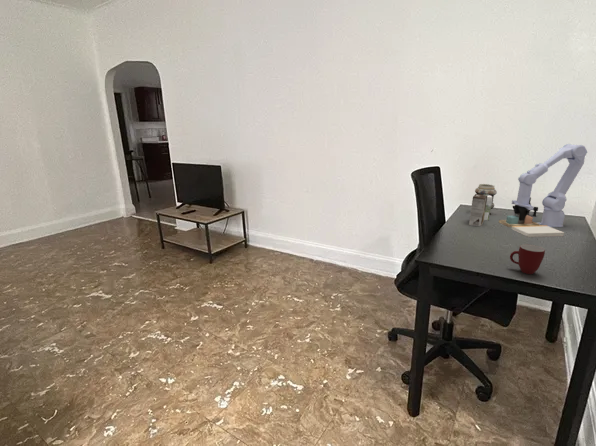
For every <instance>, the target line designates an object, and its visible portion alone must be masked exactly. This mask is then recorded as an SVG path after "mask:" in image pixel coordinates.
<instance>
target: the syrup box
mask: <svg viewBox="0 0 596 446" xmlns="http://www.w3.org/2000/svg"><path fill="white" fill-rule="evenodd" d="M492 198H493V199H494V197H492V196H490V195H488V196H487V203H486V209H485V216H484V221H489V219H490V216H491V215H490V213H491V210H492V209H491V204H492Z"/></svg>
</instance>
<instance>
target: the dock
mask: <svg viewBox="0 0 596 446" xmlns="http://www.w3.org/2000/svg"><path fill="white" fill-rule="evenodd" d="M511 230H513V231H515V232H517V233H519V234H520V235H523V236H525V237H526V238H537V237H538V238H549V237H550V238H551V237H553V238H555V237H564V235H565V232H564V231H561V230H558V229H556V228H555V227H549V226H547V225H540V224H539V226H512V227H511Z"/></svg>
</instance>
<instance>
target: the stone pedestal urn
mask: <svg viewBox="0 0 596 446" xmlns="http://www.w3.org/2000/svg"><path fill="white" fill-rule="evenodd" d="M474 192H475V193H474V194H481V195H490V196H492V197H493V198H492V204H491V209H490V210H492V209H494V208H495V203H494V197H495V195H496V194H497V190H496V189H495V185H493V184H488V183H479V184H478V186H477V187H476V188H475V190H474ZM491 215H492V214H491V212H490V215H489V216H491Z"/></svg>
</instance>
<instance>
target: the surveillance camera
mask: <svg viewBox="0 0 596 446" xmlns="http://www.w3.org/2000/svg"><path fill="white" fill-rule="evenodd" d="M531 200H532V197H531V196H530V200H529V204H530V205H531V206H532V203H531ZM532 211H533V214H532V217H533V218H536V217H537V212H538V211H539V207H538V206H534V208H533V210H532ZM527 215H528V216H530V212H529V213H528V214H527Z"/></svg>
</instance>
